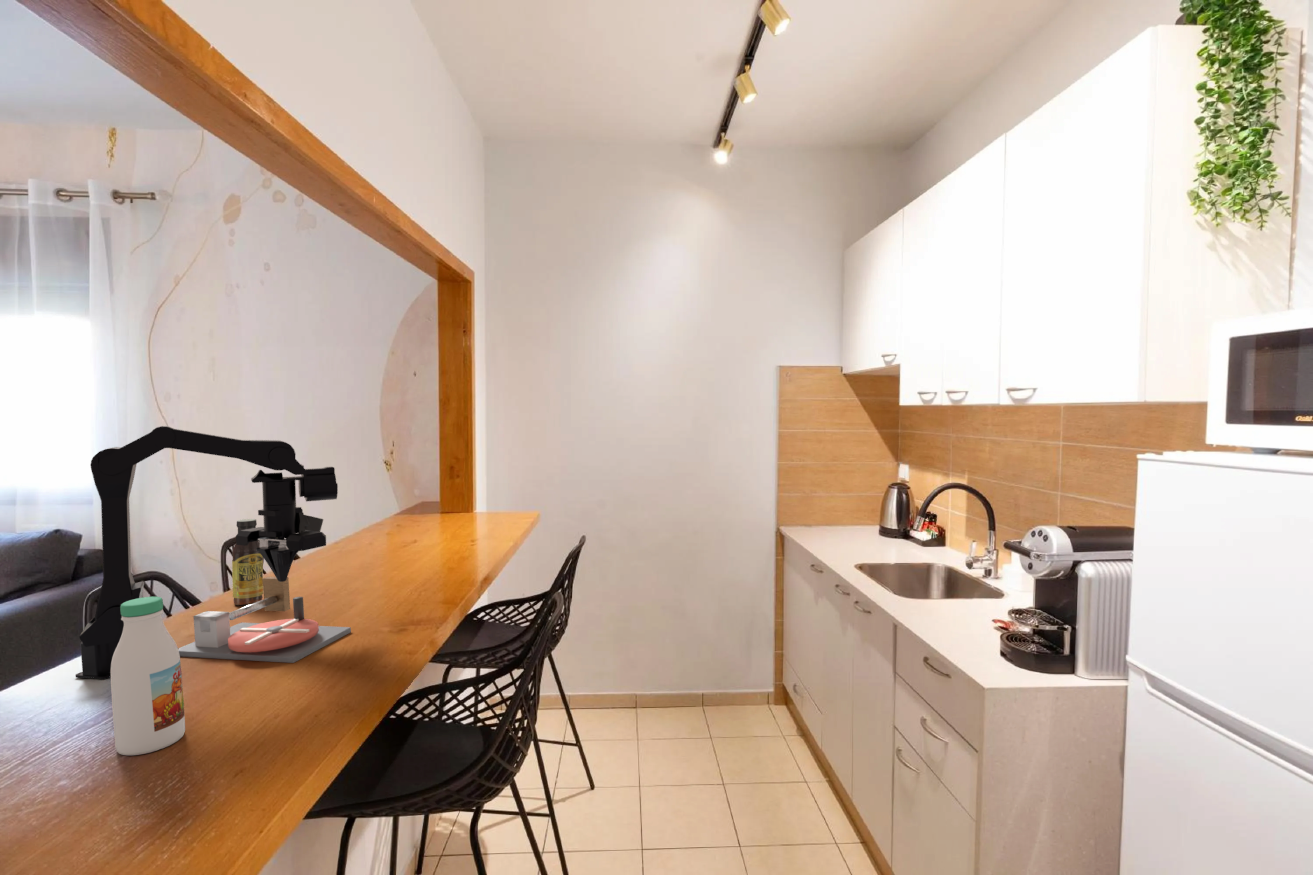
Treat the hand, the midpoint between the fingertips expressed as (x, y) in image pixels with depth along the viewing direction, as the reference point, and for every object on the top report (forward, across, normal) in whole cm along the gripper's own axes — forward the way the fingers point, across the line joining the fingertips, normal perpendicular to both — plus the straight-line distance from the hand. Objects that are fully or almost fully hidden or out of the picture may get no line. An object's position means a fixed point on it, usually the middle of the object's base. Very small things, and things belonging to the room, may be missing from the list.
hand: (282, 581), depth 132 cm
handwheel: (+9, -4, +4) cm, 11 cm away
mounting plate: (+12, +1, +4) cm, 12 cm away
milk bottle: (+12, -20, +36) cm, 43 cm away
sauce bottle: (+12, +31, -15) cm, 36 cm away
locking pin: (+9, +10, -2) cm, 14 cm away
